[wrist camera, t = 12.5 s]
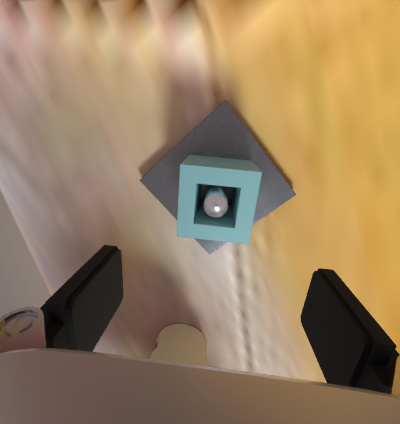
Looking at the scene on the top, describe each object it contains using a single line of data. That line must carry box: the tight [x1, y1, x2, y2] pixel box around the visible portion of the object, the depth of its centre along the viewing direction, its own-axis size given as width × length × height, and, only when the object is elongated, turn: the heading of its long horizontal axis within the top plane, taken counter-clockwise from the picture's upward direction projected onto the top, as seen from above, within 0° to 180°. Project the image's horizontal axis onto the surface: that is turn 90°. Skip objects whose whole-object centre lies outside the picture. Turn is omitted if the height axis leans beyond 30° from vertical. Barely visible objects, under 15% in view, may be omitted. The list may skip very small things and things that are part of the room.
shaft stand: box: [140, 100, 296, 254], centre depth 22 cm, size 12×12×7 cm
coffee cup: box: [150, 324, 207, 366], centre depth 29 cm, size 9×9×12 cm
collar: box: [177, 155, 262, 244], centre depth 21 cm, size 6×6×6 cm
